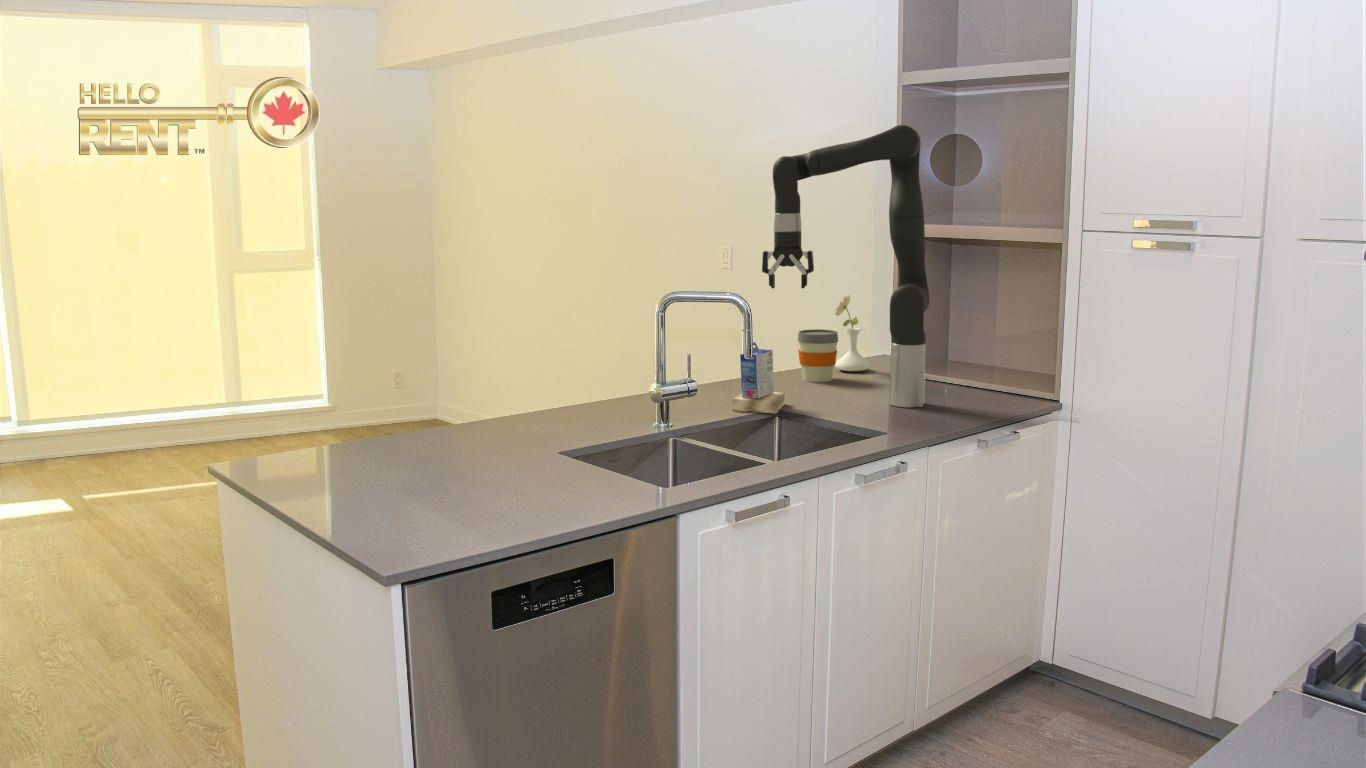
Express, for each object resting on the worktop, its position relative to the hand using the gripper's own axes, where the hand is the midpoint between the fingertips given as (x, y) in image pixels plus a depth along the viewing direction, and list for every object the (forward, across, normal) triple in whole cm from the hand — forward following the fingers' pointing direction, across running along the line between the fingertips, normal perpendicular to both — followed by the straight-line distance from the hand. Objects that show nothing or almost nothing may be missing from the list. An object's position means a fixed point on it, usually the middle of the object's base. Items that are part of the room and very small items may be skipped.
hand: (787, 288), depth 295 cm
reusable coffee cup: (+32, -4, -30) cm, 44 cm away
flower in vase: (+32, -13, -48) cm, 59 cm away
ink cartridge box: (+28, +6, +14) cm, 32 cm away
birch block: (+32, +6, +14) cm, 36 cm away
